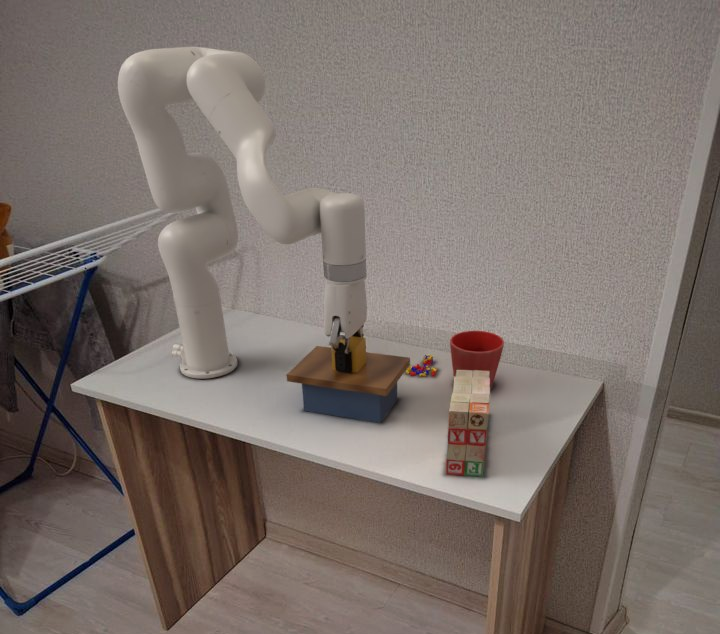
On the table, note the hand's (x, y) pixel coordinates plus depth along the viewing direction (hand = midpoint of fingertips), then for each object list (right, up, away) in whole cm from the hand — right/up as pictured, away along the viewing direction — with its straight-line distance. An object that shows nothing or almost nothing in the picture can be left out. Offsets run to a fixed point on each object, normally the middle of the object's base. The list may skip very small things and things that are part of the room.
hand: (349, 364), depth 129 cm
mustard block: (0, 0, 0) cm, 0 cm away
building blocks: (+16, +2, +18) cm, 24 cm away
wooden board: (0, -2, +1) cm, 2 cm away
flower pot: (+26, -3, +11) cm, 28 cm away
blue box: (0, -7, +5) cm, 9 cm away
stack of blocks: (+21, -16, -8) cm, 28 cm away
